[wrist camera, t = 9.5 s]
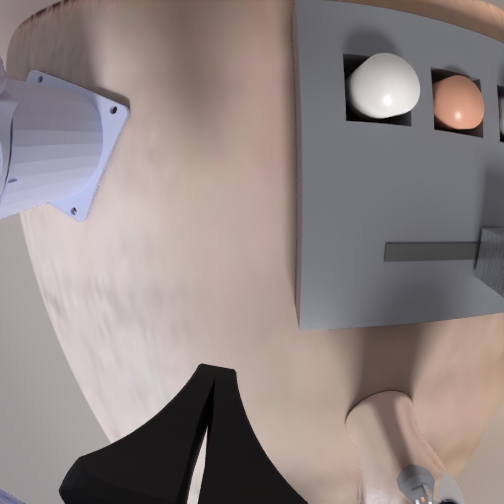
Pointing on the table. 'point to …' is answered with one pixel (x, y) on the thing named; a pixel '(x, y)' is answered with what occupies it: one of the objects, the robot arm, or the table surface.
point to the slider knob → (491, 259)
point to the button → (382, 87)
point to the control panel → (391, 174)
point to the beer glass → (397, 455)
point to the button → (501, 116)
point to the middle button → (457, 104)
